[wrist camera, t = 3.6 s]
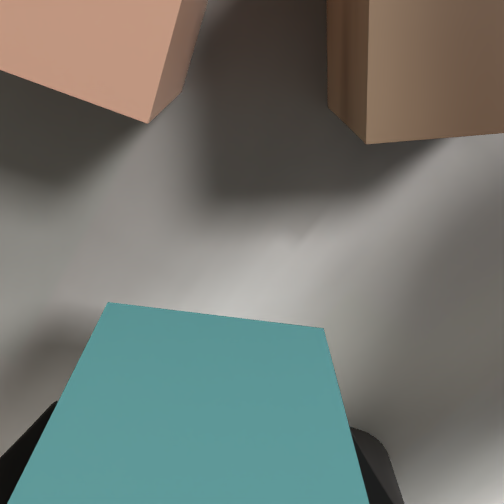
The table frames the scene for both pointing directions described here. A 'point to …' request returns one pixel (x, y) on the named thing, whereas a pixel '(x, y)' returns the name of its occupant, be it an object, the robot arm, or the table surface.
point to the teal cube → (196, 417)
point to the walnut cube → (416, 68)
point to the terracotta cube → (103, 49)
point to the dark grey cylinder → (379, 463)
